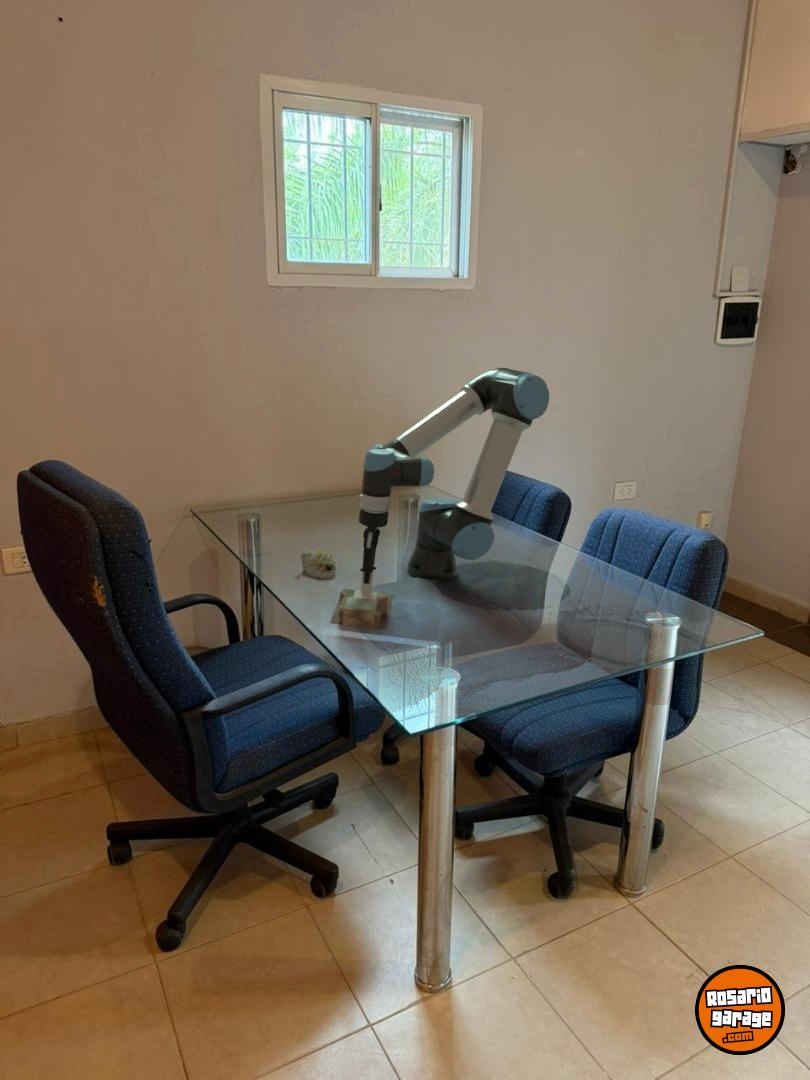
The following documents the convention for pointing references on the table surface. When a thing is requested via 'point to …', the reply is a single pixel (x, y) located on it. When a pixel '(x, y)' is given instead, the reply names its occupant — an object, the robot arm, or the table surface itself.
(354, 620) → the dock
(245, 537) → the table surface
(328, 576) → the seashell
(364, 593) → the tile
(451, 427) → the robot arm
